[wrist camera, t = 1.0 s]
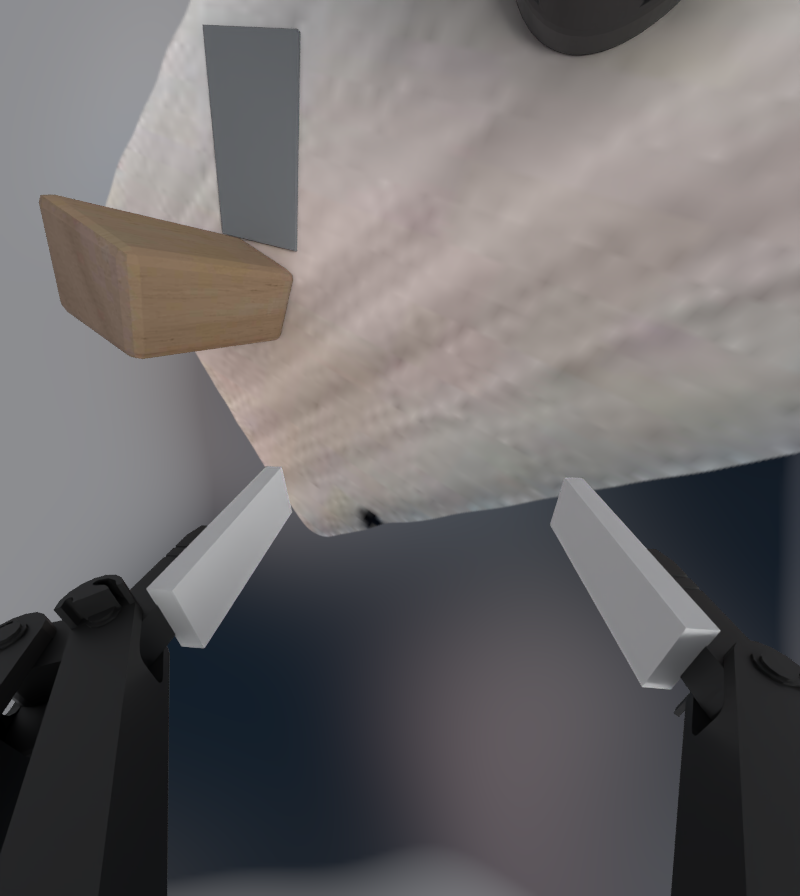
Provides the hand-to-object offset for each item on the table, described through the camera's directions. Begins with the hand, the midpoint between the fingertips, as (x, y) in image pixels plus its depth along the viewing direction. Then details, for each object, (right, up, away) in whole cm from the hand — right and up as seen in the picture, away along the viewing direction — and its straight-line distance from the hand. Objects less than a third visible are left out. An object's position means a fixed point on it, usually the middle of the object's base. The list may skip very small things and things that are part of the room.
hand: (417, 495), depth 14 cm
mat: (-18, +38, +20) cm, 46 cm away
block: (-21, +25, +28) cm, 43 cm away
